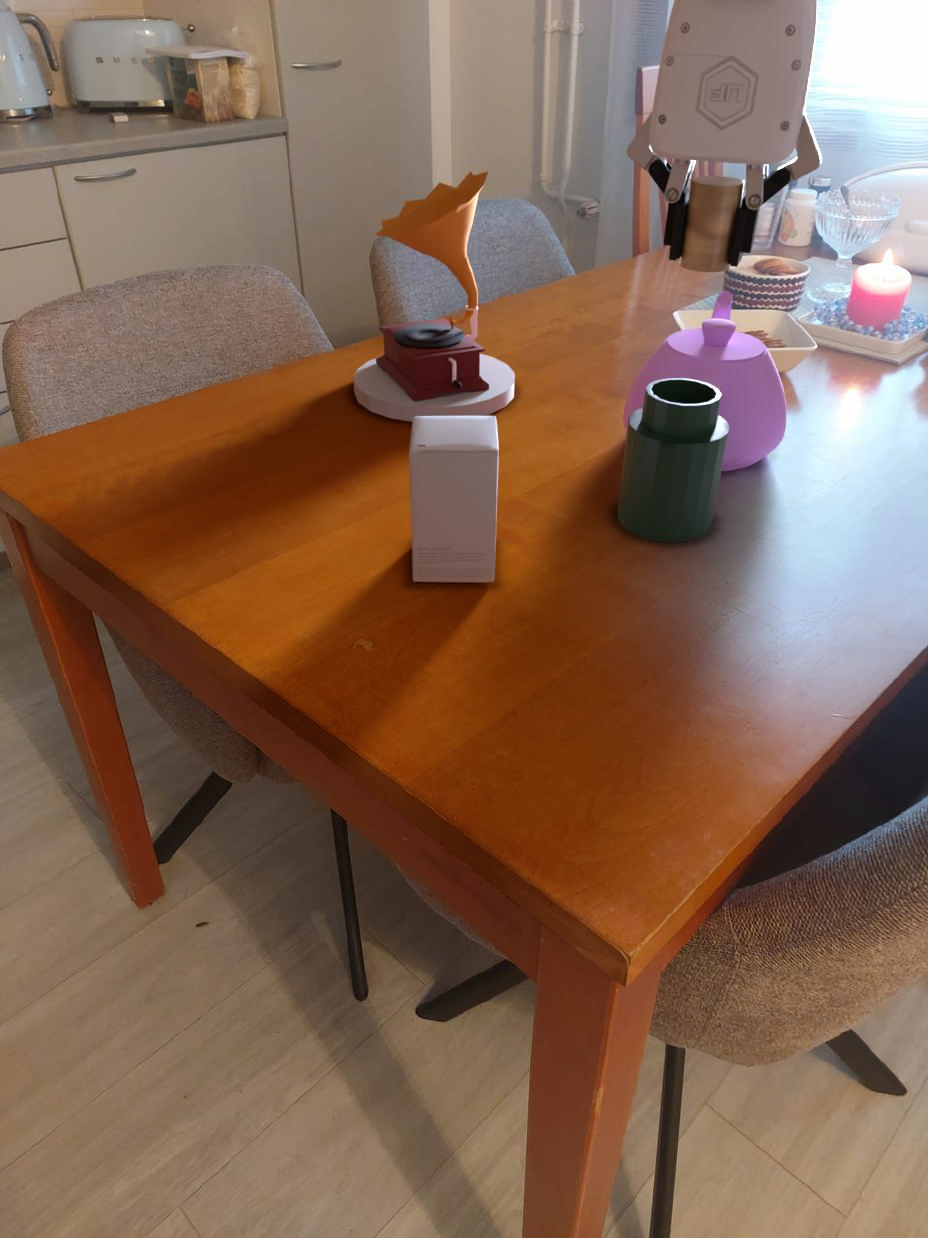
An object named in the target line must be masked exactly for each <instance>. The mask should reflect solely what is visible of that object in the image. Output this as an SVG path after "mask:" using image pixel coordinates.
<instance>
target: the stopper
mask: <svg viewBox="0 0 928 1238" xmlns="http://www.w3.org/2000/svg"><path fill="white" fill-rule="evenodd" d="M744 188H745V181H744V180H742V179H739V178H736V177H730V176H720V175H704V176H696V177H693V178H692V179H690V187H689V191H690V193H689V201H688V209H687V216H686V223H685V230H684V237H683V244H682V251H681V257H680V258H679V265H680V267H682V268H683V269H685V270H689V271H693V272H698V273H721V272H725V271H728V270H729V269H730V268H731V266H730V264H728V259H729V254H730V248H731V242H732V236H733V230H734V224H735V218H736V213H737V210H738V209H739V208H740V206H741V204H742V200H743V193H744Z"/></svg>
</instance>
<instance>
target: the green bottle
mask: <svg viewBox="0 0 928 1238" xmlns="http://www.w3.org/2000/svg"><path fill="white" fill-rule="evenodd" d="M721 396H722V394H721V392H720V391H719V389H718V388H716V387H714V386H712V385H711V384H708V383H705V382H702V381H698V380H693V379H686V378H667V379H661V380H656V381H654V382H652V383H650V384H648V386H647V387H646V389H645V396H644V403H643V408H640V409H638V410H636V411H634V412H633V413H632V414H631V415H630V417H629V419H628V426H627V431H626V435H625V443H624V444H625V445H624V452H623V461H622V462H623V463H622V469H621V476H620V477H621V478H620V485H619V486H620V487H619V495H618V503H617V519H618V523H620V524H621V526H622V527H623V528H624V529H626V530H627V531H628V532H630V533H631V534H633V535H635V536H639V537H640V538H643V539H646V540H650V541H655V542H661V543H684V542H691V541H693V540H696V539H699V538H701V537H704V535H705V534H707V533H708V532H709V531H710V529H711V526H712V521H713V519H714V514H715V508H716V504H717V497H718V492H719V487H720V481H721V477H722V472H723V471H722V466H723V461H724V456H725V450H726V445H727V440H728V434H729V429H730V428H729V425H728V423H727V421H726V420H725V419H723V418H722V417H721V416H719V415H718V413H719V408H720V402H721Z"/></svg>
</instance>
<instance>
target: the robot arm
mask: <svg viewBox="0 0 928 1238" xmlns="http://www.w3.org/2000/svg"><path fill="white" fill-rule="evenodd" d="M818 2H819V1H818V0H674V1H673V3H672V8H671V10H670V15H669V19H668V24H667V27H666V33H665V37H664V41H663V47H662V51H661V58H660V61H659V62H660V63H659V66H658V67H659V68H658V74H657V79H656V80H657V81H656V85H655V91H654V97H653V104H652V110H651V113H650V114H649V115H648V116H647V118H646V120H645V121H644V122H643V124H642V126H641V127H640V128H639V130H638V131H637V133H636V134H635V136H634V137H633V138H632V140H631V141H630V143H629V144H628V146H627V148H626V155H627V156H628V158H630V159H631V160H632V161H633V162H634V163H635V164H636V165H638V166H639V167H640V168H642V170H645V171H646V172H647V173H648V174H649V176H650V177H651V179H652V180H653V182H654V183H655V184H656V185H657V187H658V188H659V189H660V191H661V192H662V194H663V195H664V200H665V201H666V202H667V203H668V204H667V210H666V211H667V212H666V219H665V228H664V235H663V245H664V246H670V247H669V255H668V260H669V261H675V262H676V261H677V260H680V258H681V251H682V244H683V237H684V230H685V223H686V216H687V209H688V201H689V194H690V188H689V185H690V183H691V178H692V175H693V171H694V169H695V165H696V161H698V162H710V163H712V162H713V163H723V164H724V163H727V164H741V165H742V164H743V165H745V195H744V197H742V200H741V206H740V208H739V209H738V210H737V213H736V218H735V224H734V230H733V236H732V242H731V248H730V254H729V259H728V264H730V267H735V268H737V267H738V266H739V264H740V263H741V261H742V259H743V255H744V254H752V251H753V247H754V242H755V237H756V231H757V227H758V226H757V225H758V221H759V215H760V210H761V207H762V206H763V205H764V204H765V203H767V202H768V201H769V200H770V199H771V198H774V196H775V195H776V194H777V193H779V192H780V191H781V190H782V189H784V188H785V187H786V186H787V185H789V184H791V183H793V182H795V181H797V180H799V179H801V178H803V177H805V176H807V175H808V174H810V173H813V172H814V171H817V169H819V167H820V166H821V165H822V162H823V157H822V156H823V155H822V153H821V151H820V148H819V145H818V143H817V140H816V137H815V135H814V132H813V129H812V127H811V123H810V121H809V119H808V116H807V112H806V107H807V102H808V96H809V95H808V94H809V89H810V83H811V76H812V70H813V69H812V68H813V63H814V62H813V60H814V54H815V45H816V36H817V25H818V5H819V3H818ZM795 150H796V157H795V158H794V159H792V160H790V161H789V162H787V163H786V164H783V165H781V166H779V167H778V168H776V169H775V170H774V171H773V172H772V173H770V174H769V165H774V164H777V163H781V162H784V161H785V160H787V159H788V158H789V157H790V156H791V155H792V154H793V153H794V151H795ZM667 158H668V159H673V162H672V165H671V163H670V161H669V160H668V159H667Z"/></svg>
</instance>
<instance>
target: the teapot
mask: <svg viewBox="0 0 928 1238" xmlns="http://www.w3.org/2000/svg"><path fill="white" fill-rule="evenodd" d="M732 306H733V294H732V292H731V291H729V290H723V291H721V292H719V293H718V295H717V297H716V300H715V303H714V307H713V311H712V315H711V317H710V318H708V319H705V320H703V321H701V327H699V328H687V329H683V330H679V331H676V332H673V333H672V334H670V335H668V336H667V337H666V338H665V339H664V340H663V341H662V343H661V344H659V346H657V348H656V349H655V351H653V353H652V354H651V355H650V356H649V358H648V359H647V360H646V362H645V363H644V364H643V365H642V368H641V369H640V370H639V372H638V373H637V375H636V377H635V378H634V381H633V383H632V384H631V387H630V389H629V391H628V393H627V397H626V400H625V404H624V408H623V415H622V422H623V426H624V429H625V431H626V432H627V426H628V419H629V417H630V415H631V414H632V413H633V412H634V411H636V410H638V409H640V408H643V403H644V396H645V389H646V387H647V386H648V384H650V383H652V382H654V381H656V380H661V379H667V378H686V379H693V380H698V381H702V382H705V383H708V384H711V385H712V386H714V387H716V388H718V389H719V391H720V392H721V394H722V396H721V402H720V408H719V413H718V415H719V416H721V417H722V418H723V419H725V420H726V421H727V423H728V425H729V428H730V429H729V434H728V440H727V445H726V450H725V456H724V461H723V466H722V471H721V472H729V471H730V472H731V471H736V470H741V469H746V468H748V467H750V466H753V465H755V464H756V463H758V462H759V461H761V460H762V459H764V458H765V457H767V456H768V455H770V454H771V453H772V452H773V451H774V450H775V449H776V448H778V447H779V445H780V444H781V443H782V441H783V439H784V437H785V431H786V427H787V414H788V412H787V400H786V395H785V394H786V393H785V389H784V385H783V383H782V380H781V376H780V374H779V372H778V368H777V366H776V364H775V362H774V359H773V356H772V355H771V353H770V351H769V350H768V347H767V345H765V343H764V342H762V341H761V340H760V339H759V338H757V337H754V336H753V335H750V334H748V333H744V332H741V331H736V329H737V324H736V323H735V322H734V321H732V320H731V312H732Z"/></svg>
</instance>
